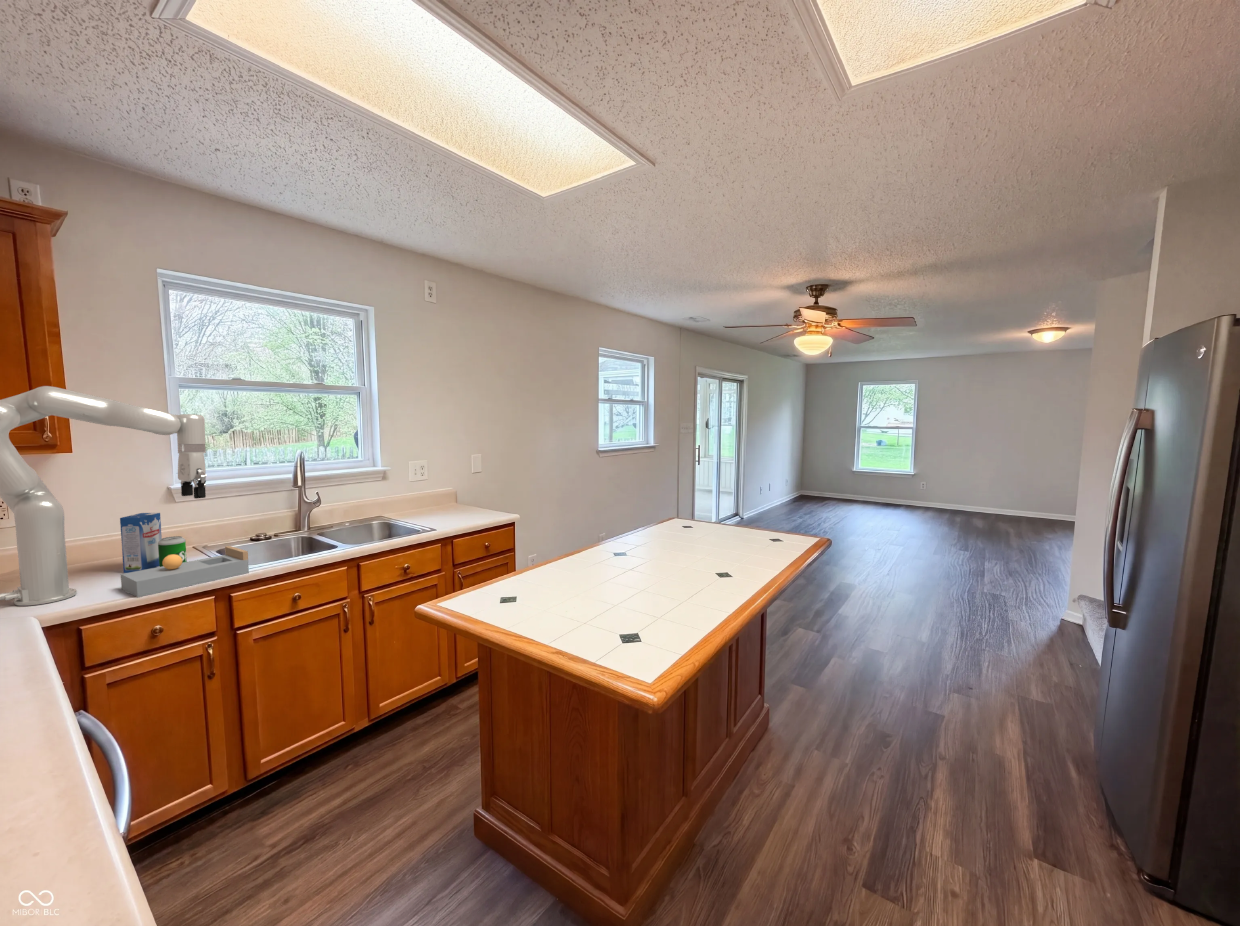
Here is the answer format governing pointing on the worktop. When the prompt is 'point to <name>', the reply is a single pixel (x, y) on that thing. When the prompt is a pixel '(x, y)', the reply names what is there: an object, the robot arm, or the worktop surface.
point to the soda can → (172, 548)
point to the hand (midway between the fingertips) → (193, 496)
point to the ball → (172, 562)
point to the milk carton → (140, 541)
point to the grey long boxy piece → (186, 573)
